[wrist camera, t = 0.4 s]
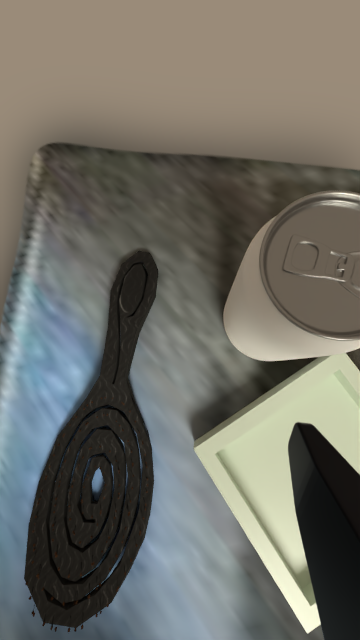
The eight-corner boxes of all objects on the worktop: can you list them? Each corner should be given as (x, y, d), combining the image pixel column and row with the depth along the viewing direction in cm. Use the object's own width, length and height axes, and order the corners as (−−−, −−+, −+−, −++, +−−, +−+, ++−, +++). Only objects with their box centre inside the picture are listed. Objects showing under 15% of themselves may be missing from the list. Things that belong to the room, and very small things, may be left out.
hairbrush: (193, 246, 21) (118, 660, 16) (194, 266, 24) (133, 608, 19) (85, 232, 22) (-19, 620, 17) (102, 254, 25) (20, 578, 20)
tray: (443, 500, 19) (471, 516, 17) (295, 605, 19) (307, 633, 17) (328, 350, 21) (342, 348, 19) (194, 441, 21) (193, 449, 19)
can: (295, 373, 21) (417, 379, 9) (211, 346, 22) (225, 320, 10) (317, 292, 22) (453, 203, 10) (236, 269, 23) (274, 161, 11)
